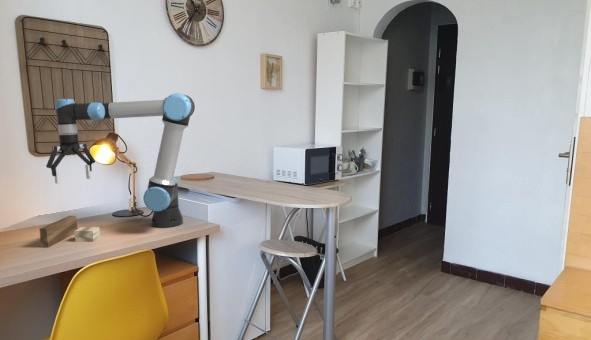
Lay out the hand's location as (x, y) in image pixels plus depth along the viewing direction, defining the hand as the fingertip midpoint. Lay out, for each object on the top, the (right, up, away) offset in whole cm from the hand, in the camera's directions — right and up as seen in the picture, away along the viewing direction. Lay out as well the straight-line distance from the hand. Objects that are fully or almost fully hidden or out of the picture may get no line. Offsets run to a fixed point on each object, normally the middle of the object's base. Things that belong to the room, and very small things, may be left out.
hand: (73, 181), depth 195 cm
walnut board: (-3, -26, -5) cm, 26 cm away
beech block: (+9, -26, -5) cm, 28 cm away
